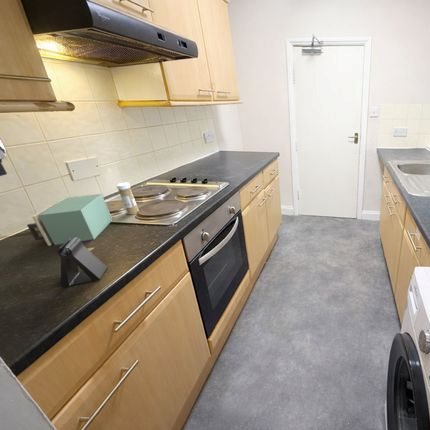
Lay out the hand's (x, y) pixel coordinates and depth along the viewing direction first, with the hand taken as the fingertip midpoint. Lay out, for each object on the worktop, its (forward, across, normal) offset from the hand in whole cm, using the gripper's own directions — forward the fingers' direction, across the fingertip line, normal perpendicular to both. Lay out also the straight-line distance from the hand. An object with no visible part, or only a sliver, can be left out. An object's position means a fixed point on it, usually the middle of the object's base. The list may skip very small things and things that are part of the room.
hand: (0, 175), depth 93 cm
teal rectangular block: (+23, +21, +1) cm, 31 cm away
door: (+23, +12, -2) cm, 26 cm away
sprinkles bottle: (+23, +27, +18) cm, 40 cm away
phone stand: (+23, +46, -26) cm, 57 cm away
